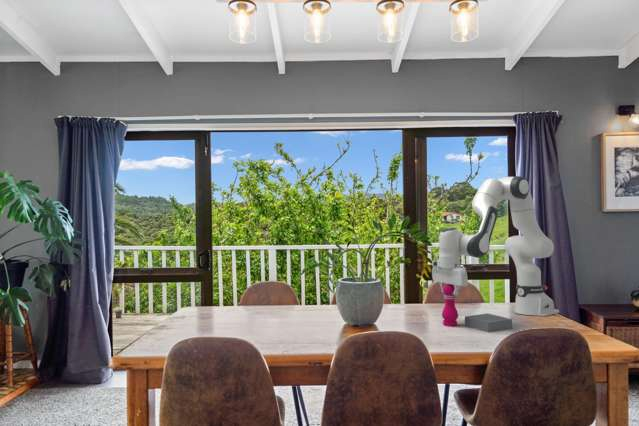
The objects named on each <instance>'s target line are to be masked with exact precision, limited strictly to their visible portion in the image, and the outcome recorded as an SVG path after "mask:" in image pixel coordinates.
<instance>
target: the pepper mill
mask: <svg viewBox="0 0 639 426" xmlns="http://www.w3.org/2000/svg"><path fill="white" fill-rule="evenodd" d="M454 289H455V288H454V285H451V284H445V286H444V287H443V292H444V294H443V296H444V297H443V298H444V300H445V301H444V302H445V304H444V307H443V309H442V312H441V317H442V319H443V321H442V324H443V326H446V327H456V326H458V321H457V320H458V318H459V313H458V310H457V307H456V305H455V299H456V295H453V291H454Z"/></svg>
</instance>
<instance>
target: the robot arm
mask: <svg viewBox="0 0 639 426" xmlns="http://www.w3.org/2000/svg"><path fill="white" fill-rule="evenodd" d="M530 187H531V186H530V182H529V181H528V180H527V178H526V177H524V176H519V175H517V176H505V177H499V178H492V177H490V178H487V179H485V180H484V181H483V182H482V184H481V185H480V186H479V188H478V189H477V192H476V193H475V195H474V196H473V199H472V200H471V201H472V202H471V208H472V210H473V212H474V213H475V214H476V215H477V216H478V217H480V218H482V221H481V223H480V226H479V229H478V232H476V233H475V234H464V233H462V232H460V231H459V229H458V228H456V227H446V228H443V229H442V230H440V231H439V232H440V233H439V236H438V237H439V239H438V248H439V257H438V259H436V260H434V261H432V262H431V263H432V264H431V265H432V268H431V269H432V271H431V276H432V277H431V278H432V280H433V282H435V283H439V286H440V288H441V293H444V292H443V287H444V286H445V285H447V284H451V285H454V288H455V289H454V291H453V295H455V296H458V295H459V290H460V288H461V287H467V286H468V283H469V281H468V280H469V279H468V272H467V268H466V267H465V266H464V265H463V264H460V256H464V257H465V256H466V257H472V258H477V259H481V258H483V257H485V256H486V255H487V254H488V252H489V250H490V245H491V244H490V243H491V238H492V235H493V232H494V229H495V225H496V223H497V219H498V209H497V207H498V204H499V202H500V200H504V201H505V200H506V201H507V200H509V207H510V215H511V221H512V225H513V227H514V228H515V229H516V230H518V231H519V233H521V235H520V234H519V235H512V236H510V237H507V239H506V240H505V242H504V249H505V252H506V253H507V254H508V255H509V256H510V257H511V259H512V261H513V262H514V265H515V270H516V281H517V282H516V286H515V288H516V290H515V291H516V295H515V301H514V305H515V306H514V307H513V312H514V313H515V314H518V315H519V314H520V315H524V316H534V317H535V316H539V317H540V316H541V317H548V316H551V315H555V314H558V313H560V310H559V309H556V308H555V303H554V301H553V299H552V298H550V297H549V296H548V295H547V294H546V293H545V291H547V289H548V286H547V285H542V271H541V269H540V267H539V266H537V265H536V264H535V263H534V260H533V259H546V258H549V257H551V256H552V255H553V253H554V250H555V249H554V248H555V246H554V242H553V240H552V239H551V238H549V237H548V236H547V235H545V233H544V232H543V231H542V229H541V228H540V226H539V223H538V220H537V216H536V215H537V214H536V210H535V209H536V208H535V205H534V199H533V197H532V193H531V192H530V189H531V188H530ZM544 290H545V291H544Z"/></svg>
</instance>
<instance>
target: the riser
mask: <svg viewBox="0 0 639 426" xmlns="http://www.w3.org/2000/svg"><path fill="white" fill-rule="evenodd" d="M464 326H465V327H469V328H473V329H477V330H480V331H484V332H486V333H492V332H497V331H503V330H510V329H513V319H512V318H508V317H504V316H501V315H496V314H492V313H482V314H481V313H480V314H473V315H468V316H467V315H465V316H464Z"/></svg>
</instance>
